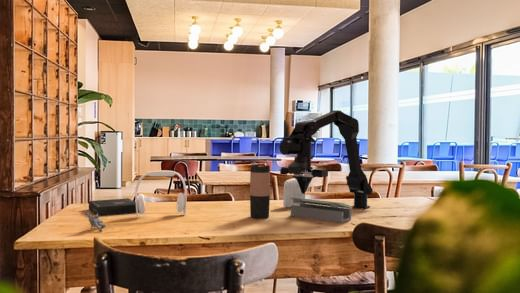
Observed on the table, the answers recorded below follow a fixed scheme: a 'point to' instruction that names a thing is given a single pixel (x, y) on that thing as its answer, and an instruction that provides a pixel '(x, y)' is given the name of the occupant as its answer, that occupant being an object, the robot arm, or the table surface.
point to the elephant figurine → (95, 221)
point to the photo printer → (292, 192)
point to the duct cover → (321, 203)
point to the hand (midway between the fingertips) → (303, 193)
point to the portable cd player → (112, 207)
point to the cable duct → (321, 212)
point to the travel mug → (259, 191)
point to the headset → (181, 197)
